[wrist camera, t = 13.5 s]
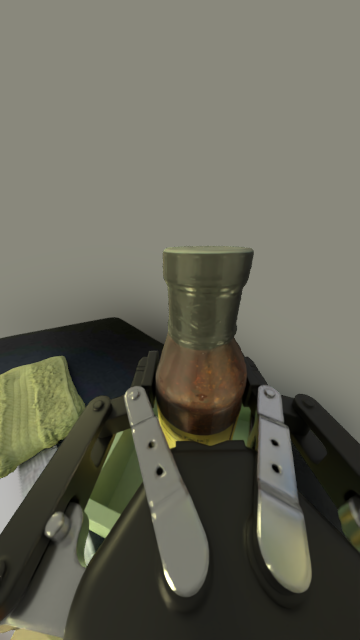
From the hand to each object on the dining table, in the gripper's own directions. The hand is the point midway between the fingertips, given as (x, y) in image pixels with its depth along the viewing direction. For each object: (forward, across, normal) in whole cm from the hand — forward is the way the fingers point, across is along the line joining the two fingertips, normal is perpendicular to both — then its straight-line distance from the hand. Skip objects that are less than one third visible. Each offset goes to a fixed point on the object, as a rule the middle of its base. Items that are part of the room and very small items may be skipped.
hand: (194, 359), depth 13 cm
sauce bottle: (-2, 0, +11) cm, 11 cm away
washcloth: (+4, +23, +13) cm, 27 cm away
